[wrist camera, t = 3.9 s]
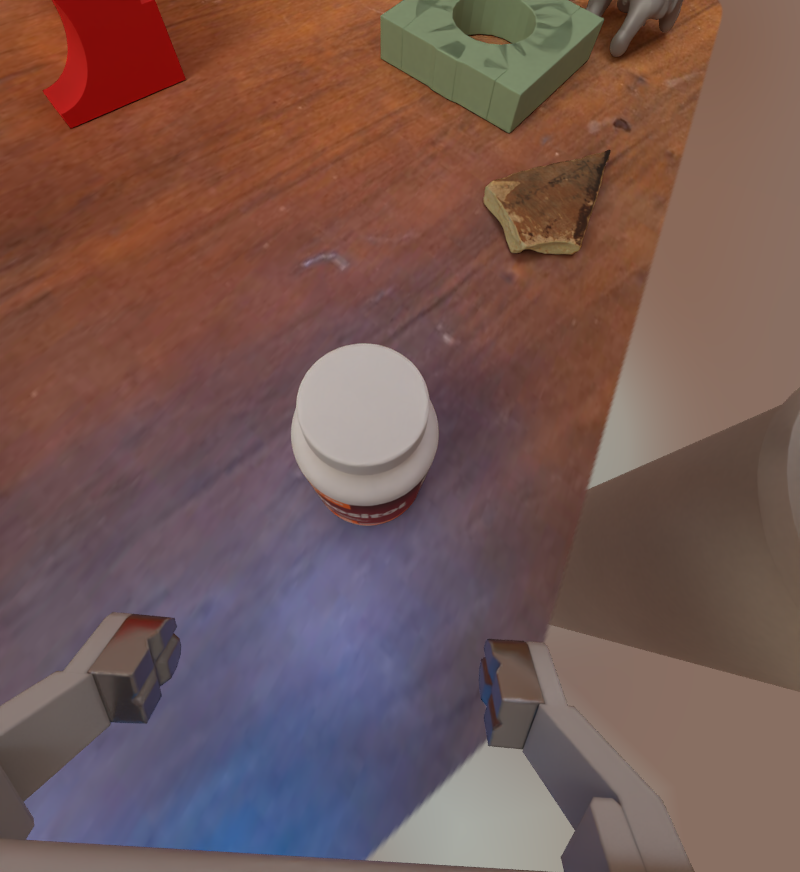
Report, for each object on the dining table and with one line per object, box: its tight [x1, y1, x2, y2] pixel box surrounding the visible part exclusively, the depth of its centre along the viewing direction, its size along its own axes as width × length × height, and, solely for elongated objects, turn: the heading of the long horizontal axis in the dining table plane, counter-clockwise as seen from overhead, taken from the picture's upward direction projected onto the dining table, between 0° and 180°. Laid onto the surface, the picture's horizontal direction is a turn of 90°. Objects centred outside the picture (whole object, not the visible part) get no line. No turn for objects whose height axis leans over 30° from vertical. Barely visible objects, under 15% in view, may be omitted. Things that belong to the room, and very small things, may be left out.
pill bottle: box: [291, 344, 439, 526], centre depth 20 cm, size 6×6×11 cm
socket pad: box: [381, 0, 604, 133], centre depth 36 cm, size 14×13×3 cm
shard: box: [484, 150, 610, 255], centre depth 31 cm, size 11×8×2 cm
